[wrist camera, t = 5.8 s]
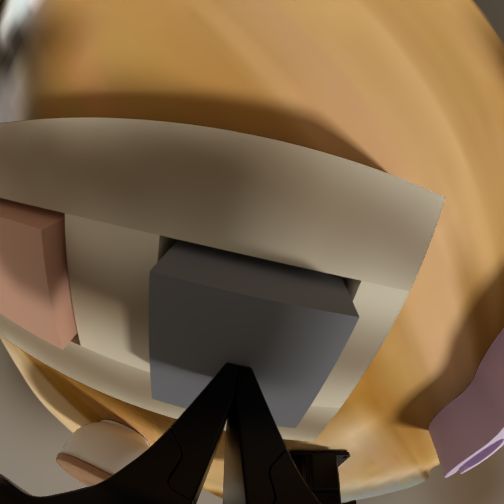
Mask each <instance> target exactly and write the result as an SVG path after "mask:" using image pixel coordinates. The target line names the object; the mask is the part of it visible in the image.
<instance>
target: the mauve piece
mask: <svg viewBox="0 0 504 504" xmlns="http://www.w3.org/2000/svg"><path fill="white" fill-rule="evenodd" d="M428 430H429V433H430V435H431V438H432V441H433V444H434V446H435V449H436V452H437V455H438V458H439V461H440V464H441V467H442V470H443V474H444V477H445V478H446V477H448V476H450V475H452V474H454V473H455V472H457V470H458V469H459V470H460V473H461V474H462V473H464V472H466V471H468V470H469V469H471V468H473V467H474V466H476V465H478V464H479V463H481V462H482V461H484V460H485V459H487V458H488V457H489V456H491V455H492V454H493V453H495V452H496V451H497V450H498V449H499V448H500V447H501V446H502V445H504V328H503V329H502V331H501V332H500V333H499V335H498V336H497V337H496V339H495V340H494V342H493V343H492V345H491V346H490V348H489V349H488V351H487V352H486V354H485V356H484V357H483V359H482V361H481V363H480V365H479V367H478V369H477V371H476V374H475V377H474V379H473V381H472V382H471V384H470V385H469V386H468V388H467V389H466V390H465V391H464V392H463V393H462V394H461V395H459V396H458V397H457V398H456V399H454V400H453V401H452V402H450V403H449V404H448V405H447V406H445V407H444V408H443V409H442V410H441V411H440V412H439V413H438V414H437V415H436V416H435V417H434V419H433V420H432V421H431V423H430V425H429V428H428Z"/></svg>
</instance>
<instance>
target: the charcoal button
mask: <svg viewBox="0 0 504 504" xmlns="http://www.w3.org/2000/svg"><path fill="white" fill-rule="evenodd" d="M358 319H359V315H358V312H357V310H356V308H355V306H354V303H353V301H352V299H351V297H350V295H349V292H348V290H347V288H346V286H345V284H344V282H343V279H342V277H341V276H338V275H333V274H329V273H324V272H320V271H315V270H311V269H306V268H302V267H297V266H293V265H288V264H284V263H279V262H275V261H271V260H266V259H262V258H257V257H253V256H248V255H244V254H240V253H235V252H231V251H226V250H222V249H218V248H213V247H209V246H204V245H200V244H196V243H191V242H187V241H183V240H178V241H177V242H176V243H175V244H174V245H173V246H172V247H171V248H170V249H169V250H168V252H167V253H166V254H165V255H164V256H163V257H162V258H161V259H160V260H159V261H158V262H157V264H156V265H155V266H154V267H153V268H152V269H151V270H150V274H149V360H150V379H151V393H152V399H155V400H158V401H161V402H164V403H168V404H171V405H174V406H178V407H182V408H185V409H187V408H188V407H189V405H190V404H191V403H192V402H193V401H194V400H195V399H196V397H197V396H198V395H199V394H200V393H201V392H202V390H203V389H204V388H205V387H206V386H207V385H208V383H209V382H210V381H211V380H212V379H213V378H214V376H215V375H216V374H217V373H218V372H219V370H220V369H221V368H222V367H223V366H224V365H225V363H227V362H228V363H233V364H237V365H238V366H240V365H243V366H248V367H251V368H252V369H253V372H254V374H255V376H256V379H257V381H258V384H259V386H260V388H261V391H262V393H263V395H264V398H265V400H266V402H267V405H268V407H269V409H270V412H271V414H272V416H273V418H274V421H275V423H276V425H277V426H279V427H288V428H296V427H297V425H298V424H299V423H300V421H301V420H302V418H303V417H304V415H305V414H306V412H307V410H308V409H309V407H310V406H311V404H312V403H313V401H314V399H315V398H316V396H317V395H318V393H319V391H320V390H321V388H322V386H323V385H324V383H325V381H326V380H327V378H328V376H329V374H330V373H331V371H332V369H333V367H334V366H335V364H336V362H337V360H338V358H339V357H340V355H341V353H342V351H343V349H344V347H345V345H346V343H347V341H348V340H349V338H350V336H351V334H352V332H353V330H354V328H355V326H356V324H357V321H358Z"/></svg>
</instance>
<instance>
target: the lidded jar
mask: <svg viewBox="0 0 504 504" xmlns="http://www.w3.org/2000/svg"><path fill="white" fill-rule="evenodd" d="M148 448H150V447H149V442H148V441H147V440H146V439H145V438H144V437H143V436H142V435H141V434H139V433H138V432H136V431H135V430H133V429H131V428H129V427H127V426H125V425H123V424H121V423H118V422H115V421H112V420H101V421H100V422H94V423H89V424H86V425H84V426H82V427H80V428H79V429H77V430H76V431H75V432H74V433H73V434H72V435H71V436H70V438H69V439H68V440H67V442H66V444H65V445H64V447H63V449H62V451H61V453H59V454H58V456H57V458H56V462H57V463H58V464H59V465H60V466H61V468H62V469H64V470H65V471H66V472H67V473H69V474H70V475H71V476H73V477H74V478H75V479H77V480H79V481H80V482H82V483H83V484H85V485H87V486H88V487H89V486H92V485H95V484H98V483H100V482H102V481H104V480H106V479H107V478H109V477H111V476H112V475H114V474H115V473H116V472H118V471H119V470H121V469H122V468H123V467H125V466H126V465H128V464H129V463H130V462H132V461H133V460H134V459H136V458H137V457H139V456H140V455H141V454H142V453H144V452H145V451H146V450H147V449H148Z"/></svg>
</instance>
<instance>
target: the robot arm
mask: <svg viewBox="0 0 504 504" xmlns="http://www.w3.org/2000/svg"><path fill="white" fill-rule="evenodd" d="M226 421H227V423H226ZM225 424H226V436H225V458H224V483H223V504H341V495H340V482H339V473H338V466H339V465H341V464H342V463H343V462H344V461H345V460H346V459H348V458H349V457H350V454H349V452H305V451H290V452H289V451H288V450H286V449H287V447H286V445H285V443H284V441H283V438H282V436H281V434H280V432H279V430H278V427H277V425H276V423H275V421H274V418H273V416H272V414H271V412H270V409H269V407H268V405H267V402H266V400H265V398H264V395H263V393H262V391H261V388H260V386H259V384H258V381H257V379H256V376H255V374H254V372H253V369H252V368H251V367H248V366H243V365H240V366H238V365H237V364H233V363H228V362H227V363H225V365H224V366H223V367H222V368H221V369H220V370H219V372H218V373H217V374H216V375H215V376H214V378H213V379H212V380H211V381H210V382H209V383H208V385H207V386H206V387H205V388H204V389H203V390H202V392H201V393H200V394H199V395H198V396H197V397H196V399H195V400H194V401H193V402H192V403H191V404H190V405H189V407H188V408H187V409H186V410H185V411H184V412H183V413H182V414H181V415H180V417H179V418H178V419H177V420H176V421H175V422H174V423H173V424H172V425H171V427H170V428H169V429H168V430H167V431H166V432H165V433H164V434H163V435H162V436H161V437H160V438H159V439H158V440H157V441H156V442H155V443H154V444H153V445H152V446H151V447H150V448H148V449H147V450H146V451H145V452H144V453H142V454H141V455H140V456H139V457H137V458H136V459H134V460H133V461H132V462H130V463H129V464H128V465H126V466H125V467H123V468H122V469H121V470H119V471H118V472H116V473H115V474H114V475H112V476H111V477H109V478H107V479H106V480H104V481H102V482H100V483H98V484H95V485H92V486H89V487H85V488H81V489H78V490H73V491H70V492H65V493H60V494H55V495H51V496H43V497H37V496H32V495H31V494H29V493H28V492H26V491H25V490H23V489H22V488H20V487H19V486H17V485H16V484H14V483H13V482H12V481H10V480H9V479H8V478H6V477H5V476H3V475H2V474H0V504H196V503H197V500H198V498H199V495H200V493H201V490H202V487H203V485H204V482H205V480H206V477H207V474H208V472H209V469H210V466H211V464H212V461H213V458H214V455H215V453H216V450H217V447H218V444H219V442H220V439H221V436H222V433H223V431H224V428H225ZM342 504H356V500H353V501H350V502H347V503H342Z"/></svg>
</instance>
